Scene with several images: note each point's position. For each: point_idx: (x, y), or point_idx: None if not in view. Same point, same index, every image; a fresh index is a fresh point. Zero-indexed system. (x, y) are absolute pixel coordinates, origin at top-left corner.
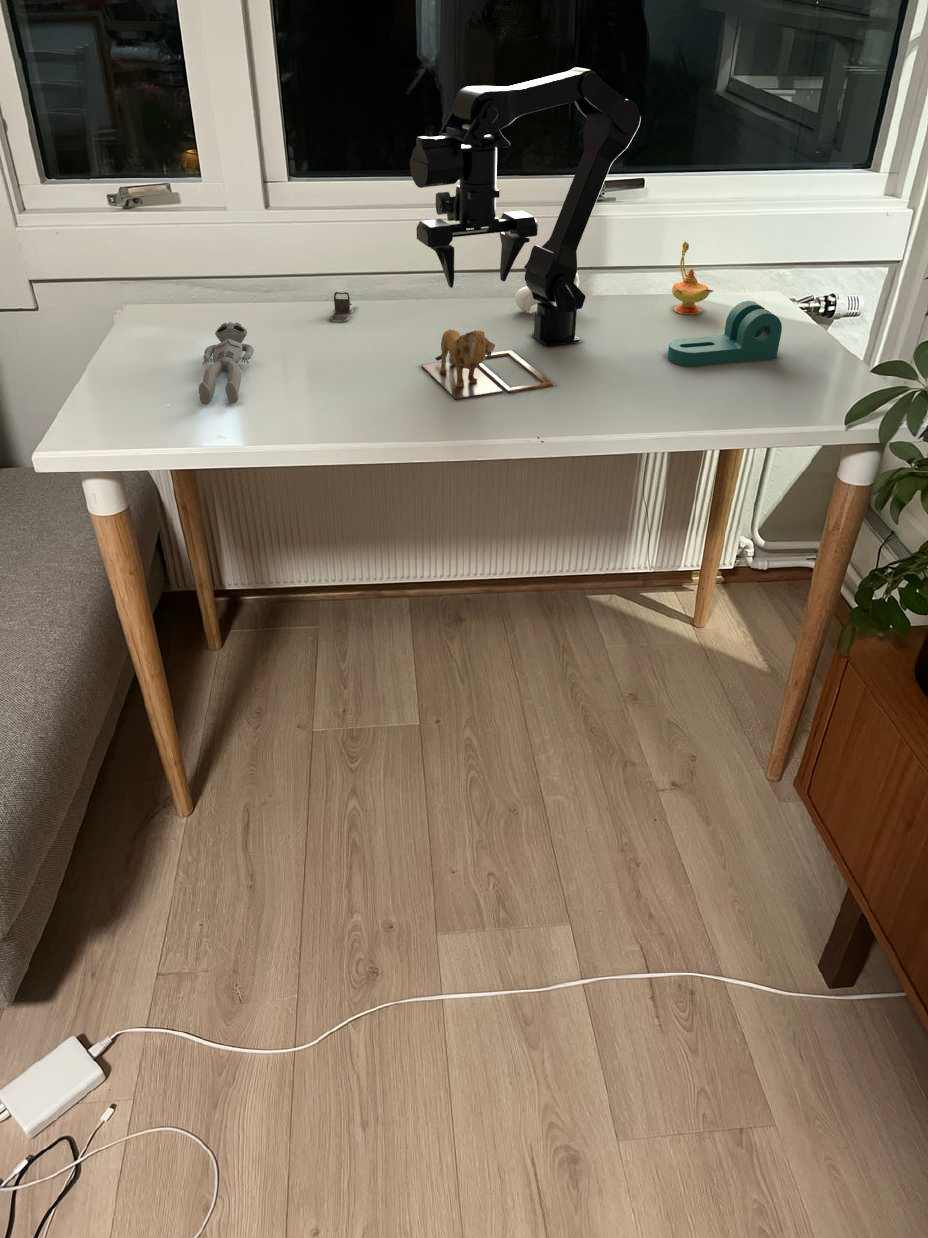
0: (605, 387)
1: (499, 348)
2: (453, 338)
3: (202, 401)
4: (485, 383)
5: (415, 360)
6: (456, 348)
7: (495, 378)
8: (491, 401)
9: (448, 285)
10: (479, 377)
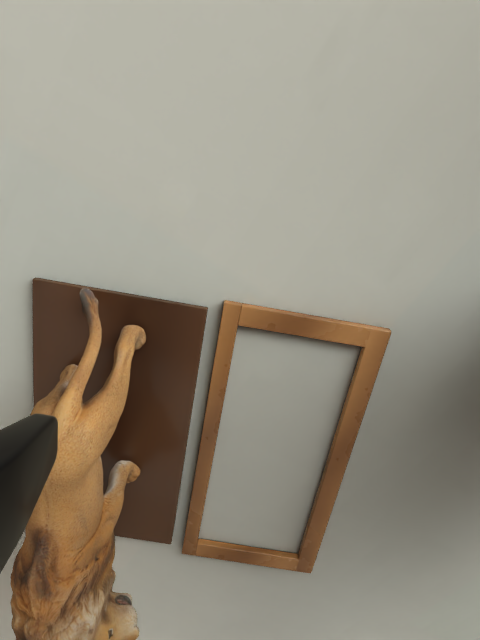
0: (410, 624)
1: (383, 272)
2: (35, 509)
3: None
4: (154, 491)
5: (36, 206)
6: (12, 571)
7: (196, 485)
8: (118, 561)
9: (34, 414)
10: (160, 454)
